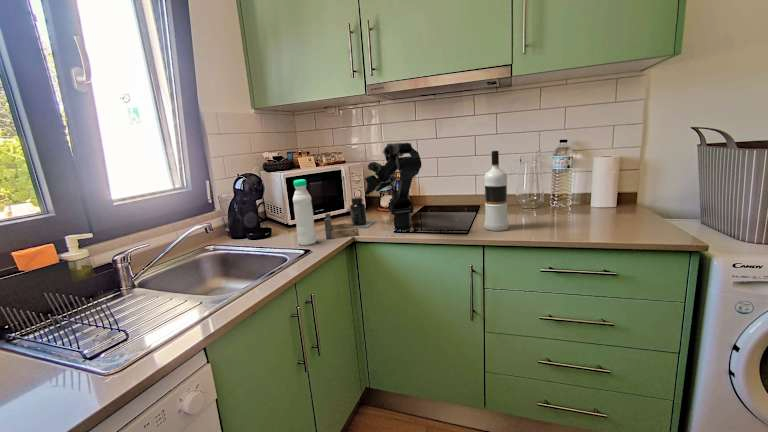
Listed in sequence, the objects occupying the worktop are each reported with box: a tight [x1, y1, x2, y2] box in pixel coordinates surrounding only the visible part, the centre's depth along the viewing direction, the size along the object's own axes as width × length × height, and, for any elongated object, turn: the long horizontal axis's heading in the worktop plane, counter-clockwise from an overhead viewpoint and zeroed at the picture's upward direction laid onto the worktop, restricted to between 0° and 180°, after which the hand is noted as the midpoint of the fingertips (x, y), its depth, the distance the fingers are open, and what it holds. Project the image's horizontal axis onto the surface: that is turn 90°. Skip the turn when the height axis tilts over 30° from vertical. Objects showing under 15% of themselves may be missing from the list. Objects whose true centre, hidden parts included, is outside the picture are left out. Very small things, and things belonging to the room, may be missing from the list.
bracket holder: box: [323, 212, 358, 240], centre depth 156 cm, size 12×13×8 cm
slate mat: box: [349, 220, 377, 229], centre depth 170 cm, size 12×12×1 cm
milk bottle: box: [292, 178, 317, 246], centre depth 144 cm, size 7×7×25 cm
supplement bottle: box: [349, 196, 367, 226], centre depth 169 cm, size 7×7×12 cm
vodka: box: [483, 150, 510, 232], centre depth 142 cm, size 9×9×30 cm
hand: (371, 192), depth 173 cm, fingers open, 9 cm apart
